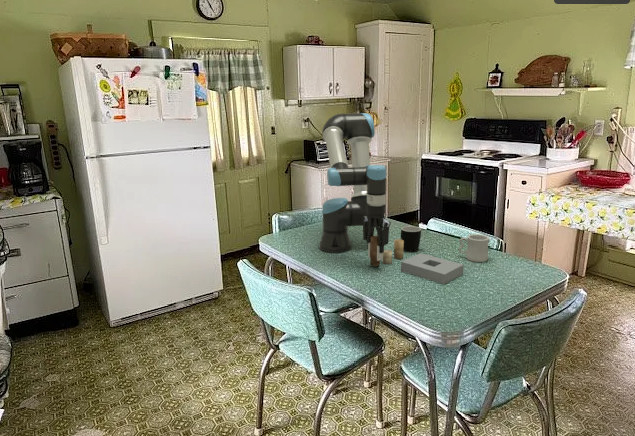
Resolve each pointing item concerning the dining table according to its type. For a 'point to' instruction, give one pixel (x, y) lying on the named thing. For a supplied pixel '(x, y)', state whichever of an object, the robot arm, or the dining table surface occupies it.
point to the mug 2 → (476, 247)
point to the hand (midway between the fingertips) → (375, 258)
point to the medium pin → (398, 248)
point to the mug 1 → (411, 238)
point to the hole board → (432, 268)
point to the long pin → (374, 251)
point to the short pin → (387, 257)
